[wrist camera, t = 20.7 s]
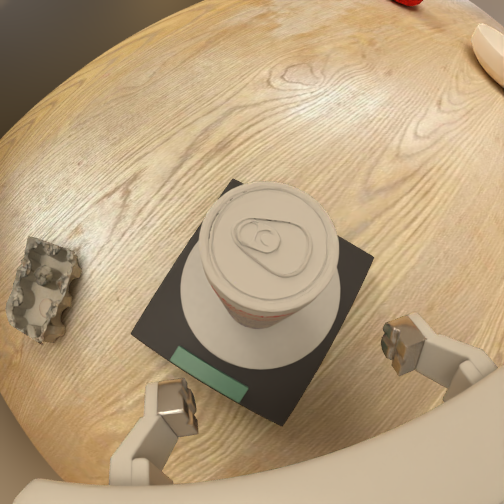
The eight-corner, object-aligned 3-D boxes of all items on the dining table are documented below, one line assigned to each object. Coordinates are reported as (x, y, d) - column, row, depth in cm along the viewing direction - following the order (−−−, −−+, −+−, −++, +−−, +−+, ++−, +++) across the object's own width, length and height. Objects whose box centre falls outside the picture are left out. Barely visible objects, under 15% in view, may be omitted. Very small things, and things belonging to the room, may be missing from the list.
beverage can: (297, 320, 26) (359, 294, 11) (232, 336, 25) (213, 330, 11) (281, 257, 27) (317, 166, 13) (218, 272, 27) (186, 192, 12)
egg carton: (61, 350, 27) (40, 350, 24) (18, 323, 28) (-3, 320, 24) (90, 260, 30) (72, 249, 26) (45, 241, 31) (26, 230, 27)
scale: (279, 420, 26) (283, 429, 23) (139, 334, 28) (126, 333, 25) (365, 263, 31) (378, 254, 27) (233, 189, 33) (232, 172, 29)
